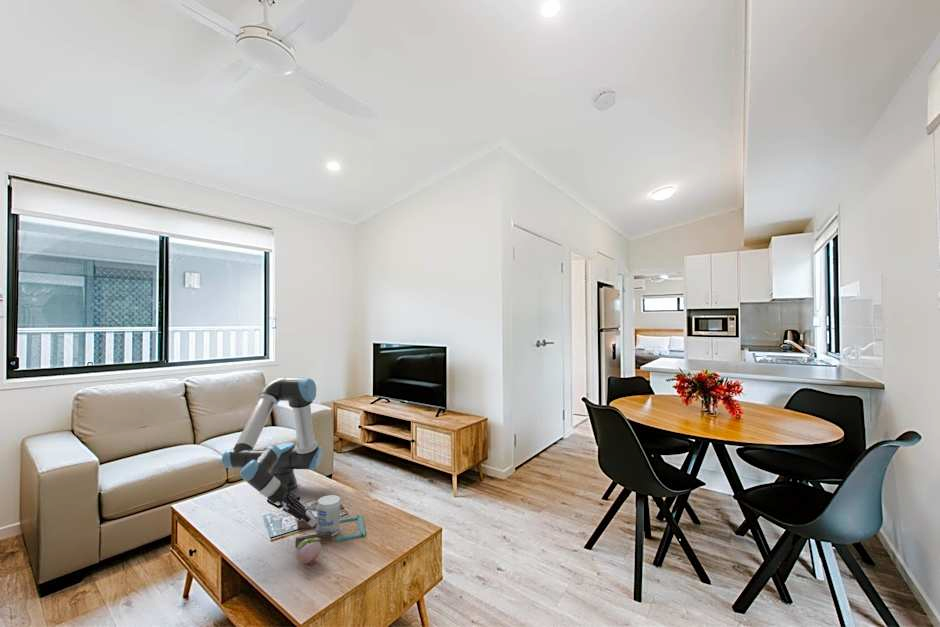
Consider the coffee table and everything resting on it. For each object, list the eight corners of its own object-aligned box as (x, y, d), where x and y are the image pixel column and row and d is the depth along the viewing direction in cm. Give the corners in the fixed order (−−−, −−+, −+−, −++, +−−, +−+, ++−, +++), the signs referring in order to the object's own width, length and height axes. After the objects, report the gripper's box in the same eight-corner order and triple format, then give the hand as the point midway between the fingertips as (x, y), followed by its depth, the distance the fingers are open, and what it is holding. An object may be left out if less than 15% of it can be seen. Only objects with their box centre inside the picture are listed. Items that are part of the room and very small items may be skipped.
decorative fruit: (313, 553, 157) (314, 528, 157) (324, 562, 152) (325, 536, 152) (290, 564, 150) (291, 538, 150) (301, 574, 145) (301, 547, 145)
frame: (334, 520, 182) (334, 519, 182) (361, 516, 186) (361, 514, 186) (336, 541, 166) (336, 539, 166) (365, 536, 170) (365, 534, 170)
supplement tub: (315, 540, 166) (316, 506, 166) (316, 528, 175) (317, 495, 175) (339, 537, 169) (340, 503, 169) (339, 525, 178) (340, 493, 178)
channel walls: (297, 527, 176) (297, 519, 176) (330, 522, 181) (330, 514, 181) (295, 547, 161) (295, 539, 161) (331, 541, 166) (331, 533, 166)
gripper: (268, 490, 168) (308, 523, 174) (264, 504, 156) (307, 539, 162) (282, 476, 170) (321, 509, 176) (279, 489, 158) (321, 524, 164)
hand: (314, 524), depth 169 cm, fingers closed
